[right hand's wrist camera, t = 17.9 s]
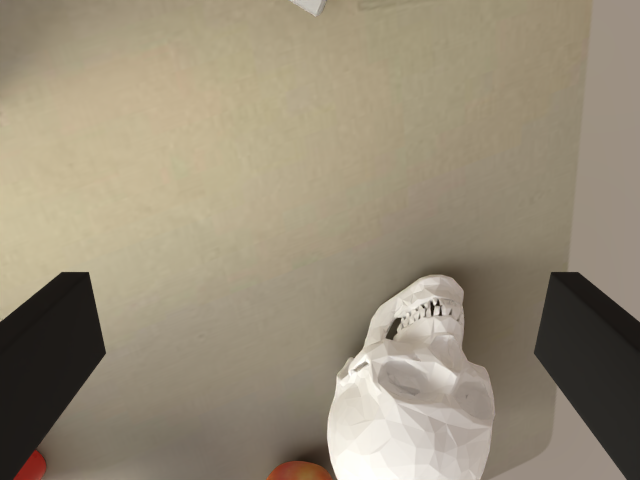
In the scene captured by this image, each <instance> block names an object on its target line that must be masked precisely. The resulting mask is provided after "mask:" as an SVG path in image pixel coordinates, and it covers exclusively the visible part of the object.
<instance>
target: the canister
mask: <svg viewBox="0 0 640 480" xmlns="http://www.w3.org/2000/svg"><path fill="white" fill-rule="evenodd" d="M45 471H46V463H45V460H44V458H43V457H42V455H41V454H40V453H39V452H38V451H37V450H35V451H34V452H33V453H32V455H31V456H30V457H29V459H28V460H27V461H26V463H25V464H24V466H23V467H22V468H21V470H20V471H19V472H18V474H17V475H16V476H15V478H14V479H13V480H41V478H42V477H43V475H44V474H45Z"/></svg>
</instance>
